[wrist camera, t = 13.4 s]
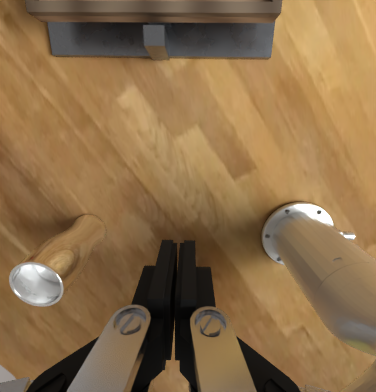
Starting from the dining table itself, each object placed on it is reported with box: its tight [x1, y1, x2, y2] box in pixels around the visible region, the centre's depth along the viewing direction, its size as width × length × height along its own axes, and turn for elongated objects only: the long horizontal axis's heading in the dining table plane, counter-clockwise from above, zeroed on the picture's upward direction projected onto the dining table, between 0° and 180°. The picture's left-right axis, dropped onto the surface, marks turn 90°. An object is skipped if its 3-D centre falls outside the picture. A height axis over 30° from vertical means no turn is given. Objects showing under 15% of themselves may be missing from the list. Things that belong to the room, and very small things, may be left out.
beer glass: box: [9, 215, 106, 306], centre depth 34 cm, size 7×7×15 cm
